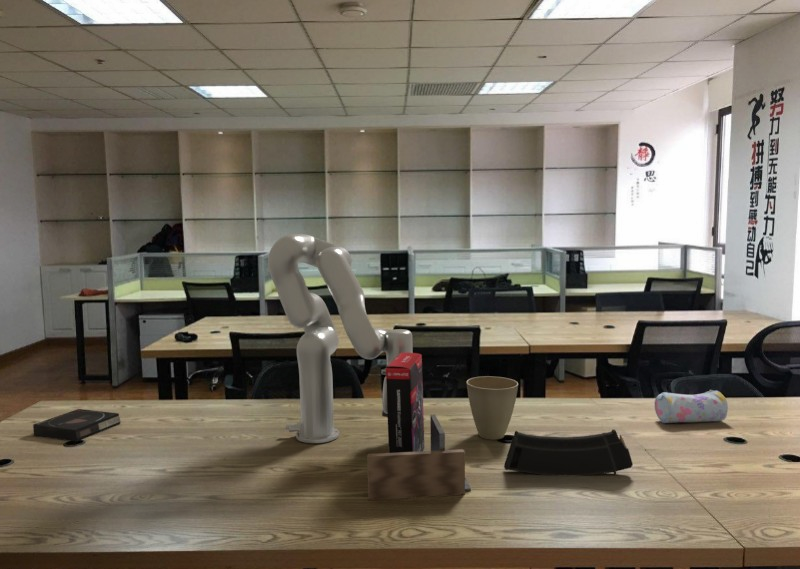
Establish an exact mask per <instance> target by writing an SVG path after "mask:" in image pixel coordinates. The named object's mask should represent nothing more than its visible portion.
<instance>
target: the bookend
mask: <svg viewBox="0 0 800 569" xmlns="http://www.w3.org/2000/svg"><path fill="white" fill-rule="evenodd" d="M429 417H430V421H429V422H430V423H429V424H430V451H440V450H446V441H445V440H446V438H445V437H446V434H445V431H444V429H443V427H442V425H441V422H440V421H439V419H438V418H437V416H436V414H430V416H429ZM471 491H472V490H471V486H470V485H469V483H468V480H467V479H466V477H465V492H471Z"/></svg>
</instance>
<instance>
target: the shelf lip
mask: <svg viewBox="0 0 800 569" xmlns="http://www.w3.org/2000/svg"><path fill="white" fill-rule="evenodd" d="M465 478H466V452H465V449H462V448H461V449H448V450H447V449H445V450H440V451H431V450H425V451H424V450H423V451H419V452H399V453H389V452H383V453H382V452H381V453H380V452H379V453H367V496H368V498H367V499H368V501H369V500H370V501H374V500H387V499H389V500H391V499H408V498H410V499H411V498H423V497H439V496H438V495H447V496H462V495H461V494H464V495H466V491H465ZM459 494H460V495H459Z"/></svg>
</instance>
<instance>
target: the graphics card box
mask: <svg viewBox="0 0 800 569" xmlns="http://www.w3.org/2000/svg"><path fill="white" fill-rule="evenodd" d="M422 356H423V355H422V354H421V353H417V352H413V353H401V352H400V353H399V355H398V356H397V357H395V358H394V359H393V360H392V361H391V362H390V363H389V364H388V365H387V364H386V366H385V369H386V375H385V377H386V384H387V415H388V417H387V432H388V433H387V434H388V435H387V437H388V438H387V440H388V453H399V452H419V451H424V450H425V426H424V425H425V418H424V389H423V388H424V386H423V384H424V383H423V361H422V360H423V357H422Z"/></svg>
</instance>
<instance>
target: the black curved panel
mask: <svg viewBox="0 0 800 569" xmlns="http://www.w3.org/2000/svg"><path fill="white" fill-rule="evenodd" d="M510 442H511V443H510V445H509V448H508V452H507V454H506V458H505V460H504V461H505V462H504V465H503V468H504V470H506V471H515V472H522V473H526V474H527V473H529V474H536V475H542V476H559V475H584V476H592V475H601V474H602V475H603V474H607V473H609V474H611V473H613V474H614V475H615V474H617V472H619V471H624V470H628V469H630V468H632V467H633V460H632V457H631V454H630V451H629V448H627V445H626V443H625V440H624V438H623V436H622V434H619V435H618V432H617V430H616V429H615V428H614V429H612V430H611V431H608V432H601V433H596V434H590V435H582V436H545V435H535V434H533V435H532V434H528V433H523V432H519V431H517V430H515V431H514V434H513V437H512V439H511V441H510Z"/></svg>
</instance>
